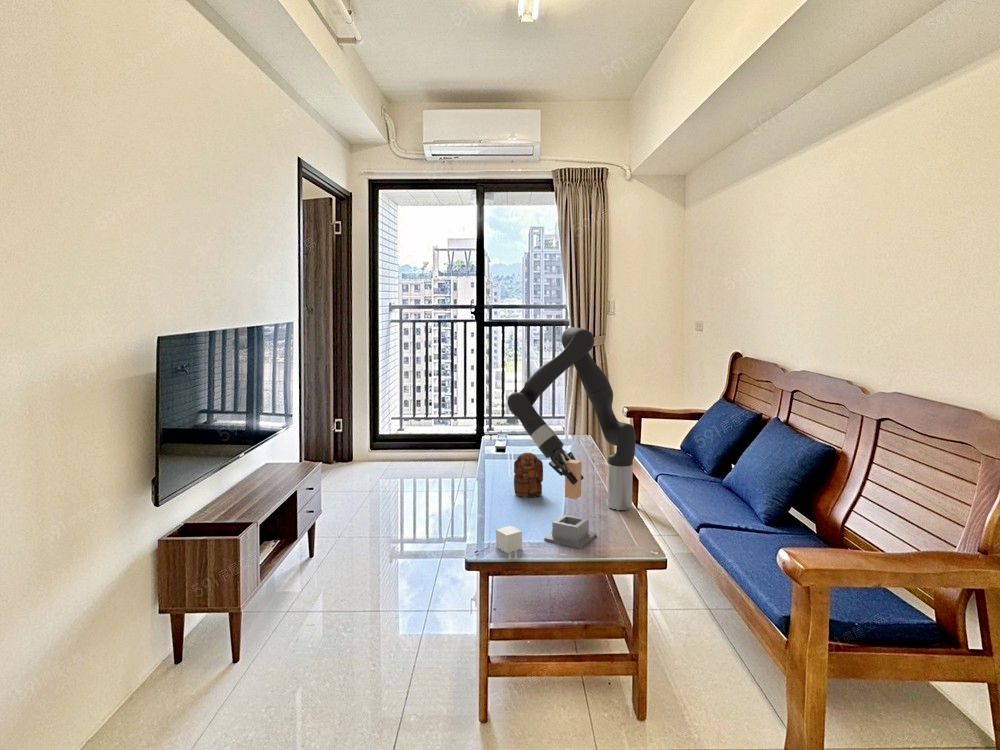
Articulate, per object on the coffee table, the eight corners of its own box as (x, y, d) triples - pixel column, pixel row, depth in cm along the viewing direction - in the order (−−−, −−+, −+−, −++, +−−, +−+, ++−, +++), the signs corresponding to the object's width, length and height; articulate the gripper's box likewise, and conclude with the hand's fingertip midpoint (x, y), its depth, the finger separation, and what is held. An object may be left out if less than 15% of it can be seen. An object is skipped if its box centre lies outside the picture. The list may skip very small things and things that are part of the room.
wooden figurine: (515, 498, 234) (515, 455, 232) (513, 493, 240) (513, 451, 238) (544, 497, 235) (544, 454, 233) (541, 492, 241) (541, 450, 239)
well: (544, 540, 189) (544, 523, 189) (562, 528, 200) (562, 511, 199) (580, 548, 182) (580, 530, 182) (596, 535, 193) (596, 518, 192)
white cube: (510, 543, 188) (510, 525, 187) (522, 549, 183) (522, 531, 182) (496, 547, 184) (495, 529, 184) (507, 553, 179) (506, 535, 179)
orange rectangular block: (564, 497, 190) (565, 461, 189) (570, 494, 193) (570, 459, 192) (575, 499, 188) (576, 463, 186) (580, 496, 191) (581, 461, 190)
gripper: (543, 437, 187) (576, 479, 181) (563, 430, 198) (595, 470, 193) (529, 451, 190) (561, 493, 184) (549, 444, 202) (580, 483, 196)
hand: (578, 481), depth 189 cm, fingers closed on orange rectangular block, 4 cm apart
